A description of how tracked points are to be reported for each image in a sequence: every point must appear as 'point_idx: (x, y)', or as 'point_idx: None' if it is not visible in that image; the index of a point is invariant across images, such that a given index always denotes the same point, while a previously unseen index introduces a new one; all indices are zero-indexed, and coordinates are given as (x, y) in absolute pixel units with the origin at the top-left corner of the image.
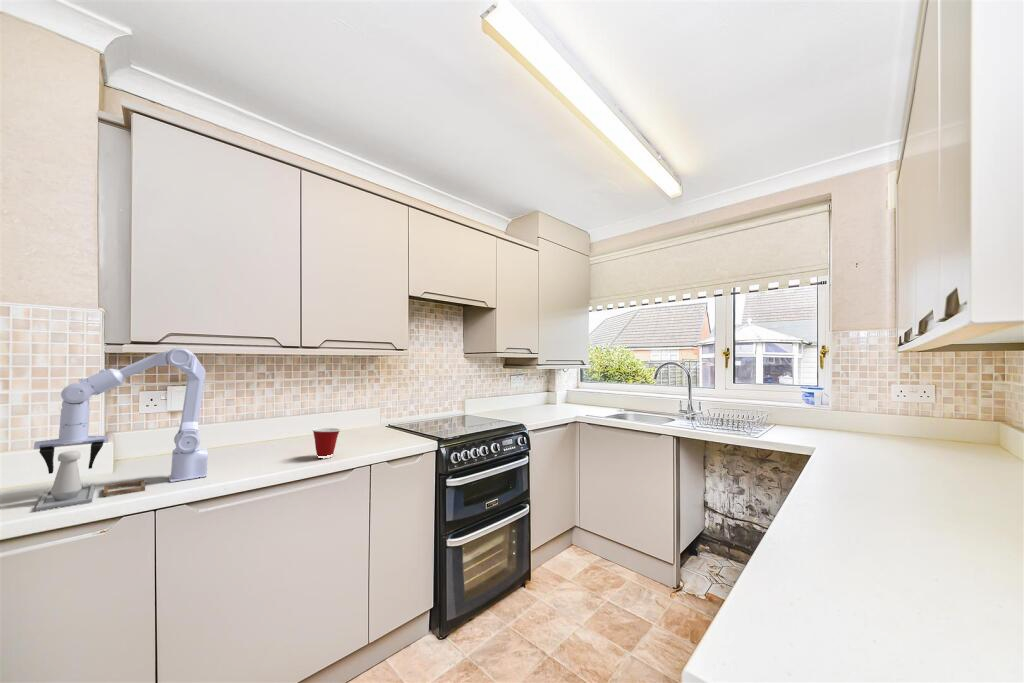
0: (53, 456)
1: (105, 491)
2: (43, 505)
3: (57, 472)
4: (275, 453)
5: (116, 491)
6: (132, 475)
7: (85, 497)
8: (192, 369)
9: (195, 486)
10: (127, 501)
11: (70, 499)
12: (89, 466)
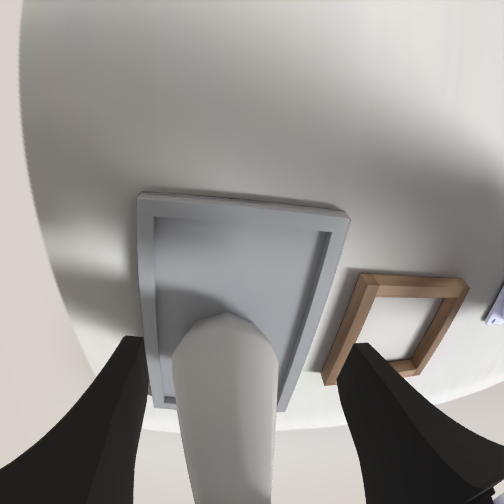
0: (107, 449)
1: (335, 373)
2: (164, 374)
3: (185, 455)
4: None
5: None
6: (493, 83)
7: (278, 367)
8: None
9: (468, 381)
10: (341, 424)
11: None
12: (343, 397)
